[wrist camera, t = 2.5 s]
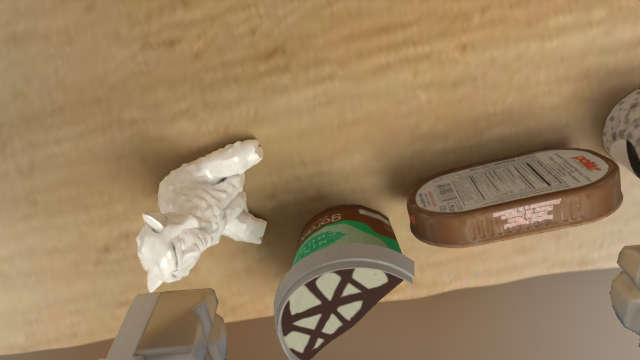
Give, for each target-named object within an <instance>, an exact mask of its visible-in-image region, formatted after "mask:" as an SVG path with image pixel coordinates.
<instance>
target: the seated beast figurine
mask: <svg viewBox="0 0 640 360" xmlns="http://www.w3.org/2000/svg"><path fill="white" fill-rule="evenodd" d="M258 145H259V141H257V140H245V141H242V142H241V141H237V142H236V143H235V144H228V145H227V146H225V147H224V149H223V148H219V149H218V150H217V151H213V152H211V154H206V156H205V157H201V158H198V159H197V160H195V161H191V162H190V163H188V164H186V163H184V164H182V166H181V167H180V168H177V169H176V170H172V171H171V172H170V174H169V175H167V176H166V177H165V178H164V179H163V180H162V181H161V182H160V183H159V190H158V194H157V196H158V198H159V199H158V207H159V209H160V210H161V213H159V212H153V211H148V212H144V213H143V219H144V221H145V222H146V223H145V224H144V225H143V227H142V228H141V231H140V234H139V235H138V237H137V238H136V241H137V243H138V253H137V255H138V256H139V258H140V261H141V265H142V267H143V268H144V270H146V271H147V272H148V275H147V285H148V291H149V292H150V293H151V292H153V291H154V290H155V289H156V288H157V287H158V286H159V285H160V284H161V283H162V282H165V283H170V282H175V281H179V280H180V279H181V277H185V276H187V275H189V272H190V269H192V268H193V267H194V265H195V264H196V263H197V261H198V259H199V258H200V255H201V253H202V252H203V251H204V250H205V249H206V248H208V247H209V246H212V245H215V244H217V243H219V240H220V237H221V236H222V235H224V236H228V237H230V238H232V239H234V240H235V241H238V242H239V241H245V242H247V243H248V242H251V243H254V244H261V241H262V237H263V235H264V232H265V229H266V225H267V221H265V220H262V219H259V218H256V217H254V216H253V215H252V214H250V213H249V211H248V207H247V204H246V201H247V198H246V192H244V191H243V185H244V184H245V180H244V179H245V173H244V172H245V171H246V170H247V169H249V168H251V167H252V166H253V165H255V164H257V163H259V162H260V161H261V160H262V159H263V150H262V147H261V146H258ZM223 180H224V182H223Z"/></svg>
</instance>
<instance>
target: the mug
mask: <svg viewBox="0 0 640 360" xmlns="http://www.w3.org/2000/svg"><path fill="white" fill-rule="evenodd" d="M603 143H604V147H605V149H606V151H607V153H608V154H609V155H610V156H611V157H612V158H613V159H614V160H616V161H617V162H618V163H620V164H621V165H622V166H624V167H625V168H626V169H628V170H629V171H630V172H632V173H633V174H634V175H636V176H637V177H638V178H640V89H638V90H635V91H634V92H632V93H630V94H629V95H627V96H626V97H624V98H623V99H622V100H621V101H620V102H619V103H617V105H616V106H615V107H614V108H613V110H612V111H611V112H610V114H609V116H608V118H607V119H606V121H605V125H604V128H603Z"/></svg>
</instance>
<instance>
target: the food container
mask: <svg viewBox="0 0 640 360" xmlns="http://www.w3.org/2000/svg"><path fill="white" fill-rule="evenodd" d="M413 277H414V261H412V260H411V259H409V258H408V257H406V256H405V255H403V254H402V252H401V249H400V247H399V244H398V242H397V239H396V237H395V234H394V231H393V229H392V226H391V224H390V221H389V219H388V218H387V217H386V216H384V215H383V214H381V213H380V212H378V211H376V210H373V209H370V208H367V207H364V206H356V205H341V206H337V207H333V208H329V209H326V210H324V211H322V212H321V213H319V214H317V215H316V216H314V217H313V218H312V219H311V220H310V221H309V222H308V223H307V224H306V226H305V227H304V229H303V231H302V233H301V236H300V239H299V243H298V246H297V250H296V253H295V257H294V261H293V264H292V267H291V269H290V270H289V271H288V272H287V273H286V274H285V276H284V277H283V279H282V281H281V282H280V284H279V286H278V289H277V291H276V294H275V300H274V317H275V325H276V330H277V335H278V338H279V340H280V342H281V345H282V347H283V349H284V351H285V353H286V355H287V356H288V357H289V359H290V360H310V359H311V358H313V357H314V356H315V355H316V354H317V353H318V352H319V351H320V350H321V349H322V348H323V347H325V346H326V345H327V344H328V343H329V342H331V341H332V340H334V339H335V338H337V337H338V336H340V335H341V334H343V333H344V332H346V331H347V330H349V329H350V328H351V327H353V326H354V325H355V324H356V323H357V322H358V321H359V320H360V319H361V318H362V317H363V316H364V315H365V314H366V313H367V312H368V311H369V310H370V309H371V308H372V307H373V306H374V305H375V304H376V303H377V302H378V301H379V300H381V299H382V298H383V297H384V296H385V295H387V294H388V293H389V292H390V291H391V290H392V289H394V288H395V287H396V286H397V285H398V284H400V283H401V282H402V281H403V280H405V281H406V282H408V283H410V284H411V285H413V282H412V278H413Z"/></svg>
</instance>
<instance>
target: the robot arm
mask: <svg viewBox="0 0 640 360" xmlns="http://www.w3.org/2000/svg"><path fill="white" fill-rule="evenodd" d="M617 263H618V265H619V266H620V267H621V269H622V270H623V271H622V272H621V273H620V274H618V275H617V276H616V277H615V278H614V279H613V281H612V286H611V291H610V295H611V301H612V307H613V309H614V311H615V313H616V315H617V317H618V319H619V320H620V321H621V323H622V324H623V326H624V327H625V328H627V329H629V330H631V331H632V332H634V333H636V334H638V335H640V245H631V246H625V247H624V248H623V249H622V250H621V251H620V253H619V257H618V261H617ZM217 306H218V300H217V297H216V294H215V291H214V290H213V289H211V288H204V289H191V290H178V291H166V292H159V293H146V294H139V295H138V296H136V297H135V298H134V299H133V301H132V304H131V306H130V308H129V310H128V312H127V314H126V316H125V319H124V321H123V323H122V325H121V327H120V329H119V331H118V334H117V336H116V338H115V340H114V342H113V344H112V347H111V349H110V351H109V353H108V355H107V357H106V359H98V360H226V355H227V334H226V327H225V323H224V320H223V318H222V317H221V316H219V315H218V314H217V313H216V310H217ZM639 347H640V340H639Z"/></svg>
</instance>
